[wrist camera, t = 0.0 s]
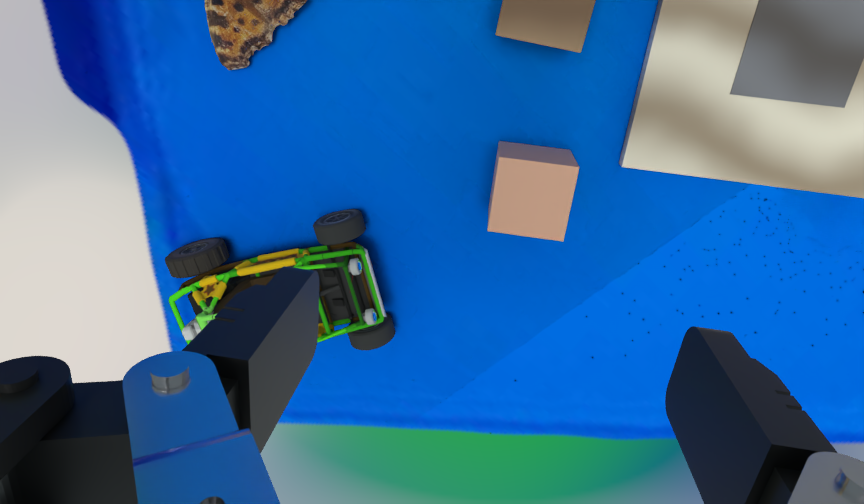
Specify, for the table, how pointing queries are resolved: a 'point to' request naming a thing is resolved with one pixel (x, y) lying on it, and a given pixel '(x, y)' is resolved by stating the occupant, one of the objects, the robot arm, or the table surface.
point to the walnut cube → (546, 22)
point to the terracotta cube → (532, 190)
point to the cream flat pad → (753, 94)
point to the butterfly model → (245, 26)
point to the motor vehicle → (335, 263)
